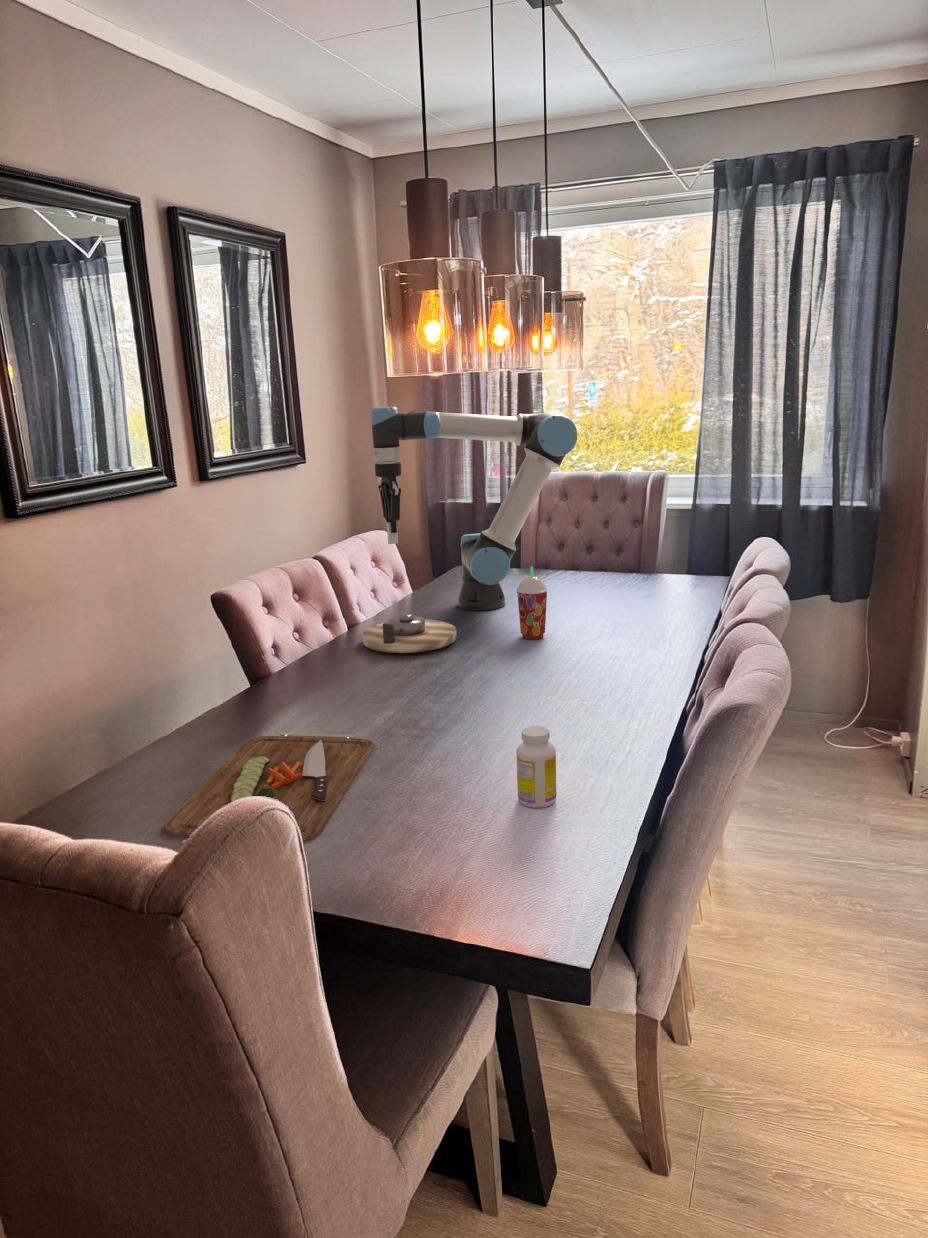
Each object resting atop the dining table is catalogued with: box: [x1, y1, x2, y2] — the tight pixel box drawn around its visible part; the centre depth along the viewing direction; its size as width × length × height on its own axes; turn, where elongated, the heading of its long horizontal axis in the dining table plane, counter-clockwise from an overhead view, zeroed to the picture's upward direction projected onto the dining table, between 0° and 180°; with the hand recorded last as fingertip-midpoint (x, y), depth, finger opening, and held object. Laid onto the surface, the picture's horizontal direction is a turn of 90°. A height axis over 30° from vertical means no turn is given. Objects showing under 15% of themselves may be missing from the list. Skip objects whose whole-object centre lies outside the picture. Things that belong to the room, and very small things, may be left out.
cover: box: [387, 613, 425, 636], centre depth 246 cm, size 10×10×4 cm
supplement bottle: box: [515, 725, 557, 809], centre depth 151 cm, size 7×7×13 cm
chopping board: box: [164, 732, 375, 845], centre depth 163 cm, size 45×27×3 cm, turn 171°
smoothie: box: [516, 565, 548, 641], centre depth 245 cm, size 8×8×20 cm
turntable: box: [361, 618, 458, 654], centre depth 245 cm, size 26×26×7 cm
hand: (393, 543), depth 261 cm, fingers closed
